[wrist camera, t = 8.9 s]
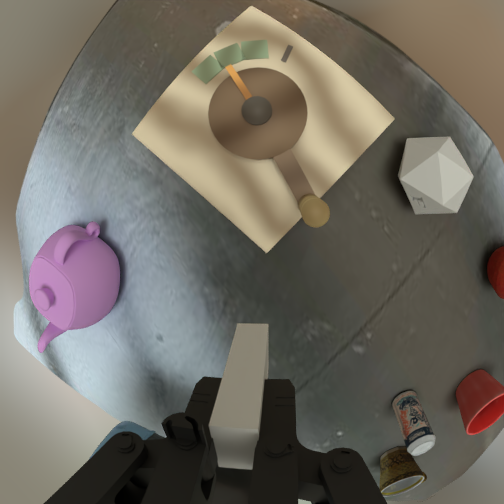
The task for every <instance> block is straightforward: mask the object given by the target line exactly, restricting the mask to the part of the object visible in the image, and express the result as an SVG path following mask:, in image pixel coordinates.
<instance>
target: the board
mask: <svg viewBox="0 0 504 504" xmlns="http://www.w3.org/2000/svg"><path fill="white" fill-rule="evenodd" d="M230 64H231V65H232V66H233V68H234V69H235V71H236V72H238V71H241V70H244V69H248V68H256V67H260V68H269V69H273V70H276V71H279V72H281V73H283V74H285V75H286V76H288V77H289V78H291V79H292V80H293V81H294V82H295V83H296V84H297V85H298V87H299V88H300V89H301V91H302V93H303V95H304V97H305V100H306V104H307V112H308V114H307V122H306V126H305V128H304V131H303V133H302V135H301V136H300V138H299V140H298V141H297V142H296V144H295V145H294V146H293V147H292V148H291V151H292V152H293V154H294V156H295V158H296V160H297V161H298V163H299V165H300V167H301V169H302V170H303V172H304V174H305V176H306V178H307V180H308V182H309V184H310V186H311V187H312V189H313V191H314V193H315V195H316V196H317V197H319V198H321V197H322V195H323V194H324V193H325V192H326V191H327V190H328V189H329V188H330V187H331V186H332V185H333V184H334V183H335V182H336V181H337V180H338V179H339V178H340V177H341V176H342V175H343V173H344V172H345V171H346V170H347V169H348V168H349V167H350V166H351V165H352V164H353V163H354V162H355V161H356V160H357V159H358V158H359V157H360V156H361V154H362V153H363V152H364V151H365V150H366V149H367V148H368V147H369V146H370V145H371V144H372V143H373V142H374V141H375V140H376V139H377V137H378V136H379V135H380V134H381V133H382V132H383V131H384V130H385V129H386V128H387V127H388V126H389V125H390V124H391V123H392V121H393V120H394V118H393V116H392V115H391V114H390V113H389V112H388V111H387V110H386V109H385V108H384V107H383V106H382V105H381V104H380V103H379V102H378V101H377V100H376V99H375V98H374V97H373V96H372V95H371V94H370V93H369V92H368V91H367V90H366V89H365V88H364V87H362V86H361V85H360V84H359V83H358V82H357V81H356V80H355V79H354V78H353V77H351V76H350V75H349V74H348V73H347V72H346V71H344V70H343V69H342V68H341V67H340V66H339V65H337V64H336V63H335V62H334V61H332V60H331V59H330V58H329V57H327V56H326V55H325V54H324V53H322V52H321V51H320V50H318V49H317V48H316V47H314V46H313V45H312V44H310V43H309V42H308V41H306V40H305V39H303V38H302V37H301V36H299V35H298V34H296V33H295V32H293V31H292V30H290V29H289V28H287V27H286V26H284V25H283V24H281V23H280V22H278V21H276V20H275V19H273V18H272V17H270V16H268V15H267V14H265V13H263V12H261V11H260V10H258V9H256V8H254V7H253V6H250V7H249V8H248V9H247V10H245V11H244V12H243V13H242V14H241V15H240V16H238V17H237V18H236V19H235V20H234V21H233V22H231V23H230V24H229V25H228V26H227V27H226V28H225V29H224V30H223V31H221V32H220V33H219V34H218V35H217V36H216V37H215V38H214V39H213V40H212V41H211V42H210V43H209V44H208V45H207V46H206V47H205V48H204V49H203V50H202V51H201V52H200V53H199V54H198V55H197V56H196V57H195V58H194V59H193V60H192V61H191V62H190V63H189V64H188V65H187V67H186V68H185V69H184V70H183V71H182V72H181V73H180V74H179V75H178V76H177V78H176V79H175V80H174V81H173V82H172V83H171V85H170V86H169V87H168V88H167V89H166V90H165V92H164V93H163V94H162V95H161V97H160V98H159V99H158V100H157V101H156V103H155V104H154V105H153V107H152V108H151V109H150V110H149V112H148V113H147V114H146V116H145V117H144V118H143V120H142V121H141V122H140V124H139V125H138V126H137V128H136V129H135V131H134V132H133V133H132V135H133V136H135V137H136V138H137V139H138V140H139V141H140V142H142V143H143V144H144V145H145V146H146V147H147V148H148V149H150V150H151V151H152V152H153V153H154V154H155V155H156V156H158V157H159V158H160V159H161V160H162V161H163V162H164V163H166V164H167V165H168V166H169V167H170V168H171V169H172V170H174V171H175V172H176V173H177V174H178V175H179V176H180V177H181V178H183V179H184V180H185V181H186V182H187V183H188V184H189V185H191V186H192V187H193V188H194V189H195V190H196V191H197V192H199V193H200V194H201V195H202V196H203V197H204V198H205V199H206V200H208V201H209V202H210V203H211V204H212V205H213V206H214V207H215V208H217V209H218V210H219V211H220V212H221V213H222V214H223V215H224V216H226V217H227V218H228V219H229V220H230V221H231V222H232V223H233V224H235V225H236V226H237V227H238V228H239V229H240V230H241V231H242V232H244V233H245V234H246V235H247V236H248V237H249V238H250V239H251V240H253V241H254V242H255V243H256V244H257V245H258V246H259V247H260V248H261V249H263V250H264V251H265V252H266V253H267V252H268V251H269V250H270V249H271V248H272V247H273V246H274V245H275V244H276V243H277V242H278V241H279V240H280V239H281V238H282V237H283V236H284V235H285V234H286V233H287V232H288V231H289V230H290V229H291V228H292V227H293V226H294V225H295V224H296V223H297V221H298V220H299V219H300V218H301V217H302V215H301V213H300V210H299V208H298V204H297V200H296V199H295V197H294V195H293V193H292V191H291V189H290V187H289V185H288V184H287V182H286V180H285V178H284V176H283V175H282V173H281V171H280V169H279V167H278V166H277V164H276V162H275V160H274V158H271V159H265V160H253V159H248V158H244V157H241V156H238V155H236V154H234V153H232V152H230V151H229V150H227V149H226V148H224V147H223V146H222V145H221V144H220V143H219V142H218V140H217V139H216V137H215V136H214V134H213V132H212V130H211V127H210V124H209V118H208V111H209V104H210V100H211V98H212V95H213V94H214V92H215V90H216V89H217V87H218V86H219V85H220V84H221V83H222V82H223V81H224V80H225V79H226V78H227V77H229V76H230V74H229V73H228V71H227V70H226V68H225V67H226V66H228V65H230Z"/></svg>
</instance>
